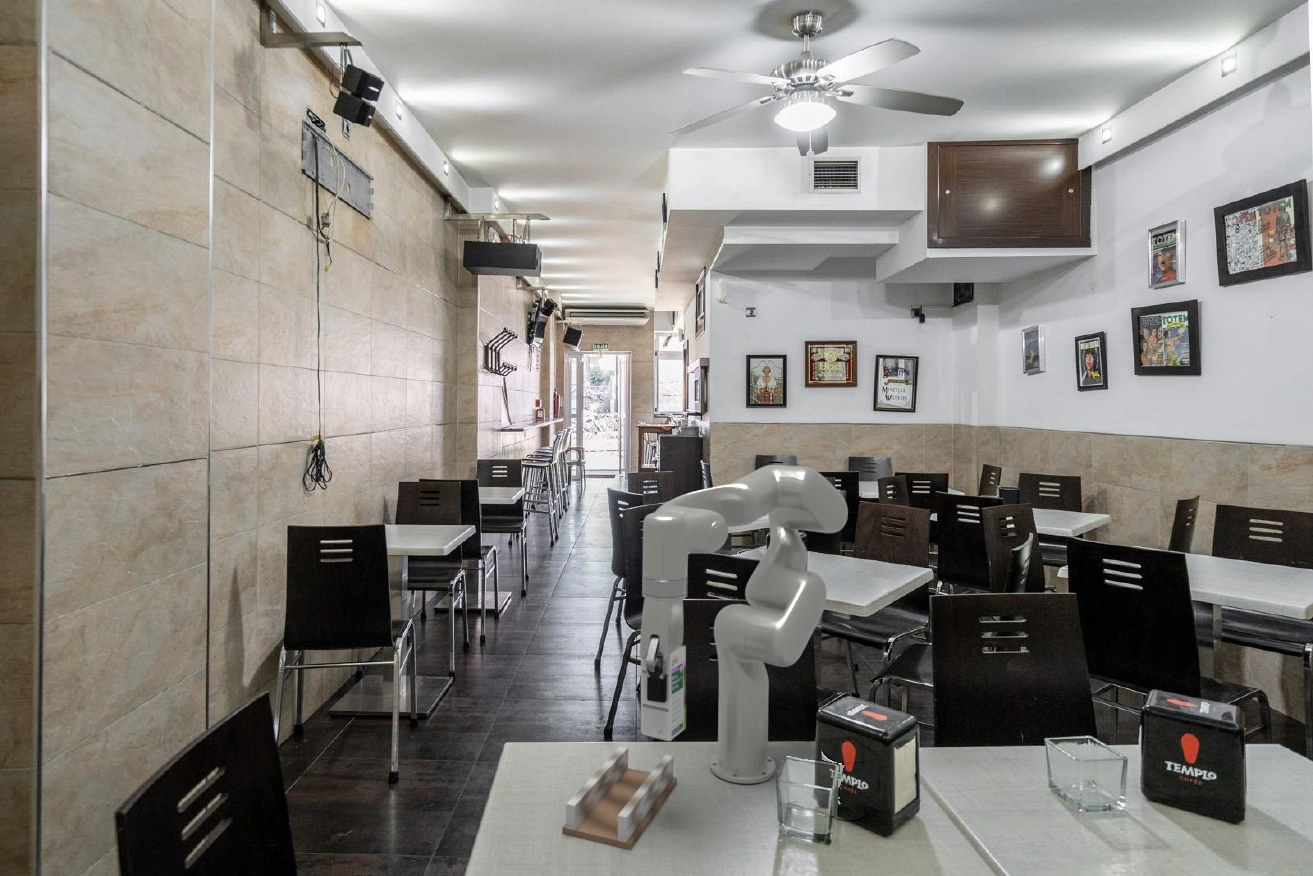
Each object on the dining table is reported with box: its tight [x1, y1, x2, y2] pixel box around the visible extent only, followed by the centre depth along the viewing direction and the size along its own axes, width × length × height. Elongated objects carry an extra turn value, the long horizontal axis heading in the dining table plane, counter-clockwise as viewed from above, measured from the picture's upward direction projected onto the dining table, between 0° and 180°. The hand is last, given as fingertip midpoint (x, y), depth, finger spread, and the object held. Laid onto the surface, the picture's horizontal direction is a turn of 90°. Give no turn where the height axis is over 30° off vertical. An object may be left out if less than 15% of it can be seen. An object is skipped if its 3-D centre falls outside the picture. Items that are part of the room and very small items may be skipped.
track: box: [562, 745, 678, 850], centre depth 125 cm, size 22×12×5 cm, turn 159°
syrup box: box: [640, 643, 687, 742], centre depth 120 cm, size 6×6×14 cm
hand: (663, 692), depth 120 cm, fingers closed on syrup box, 6 cm apart
